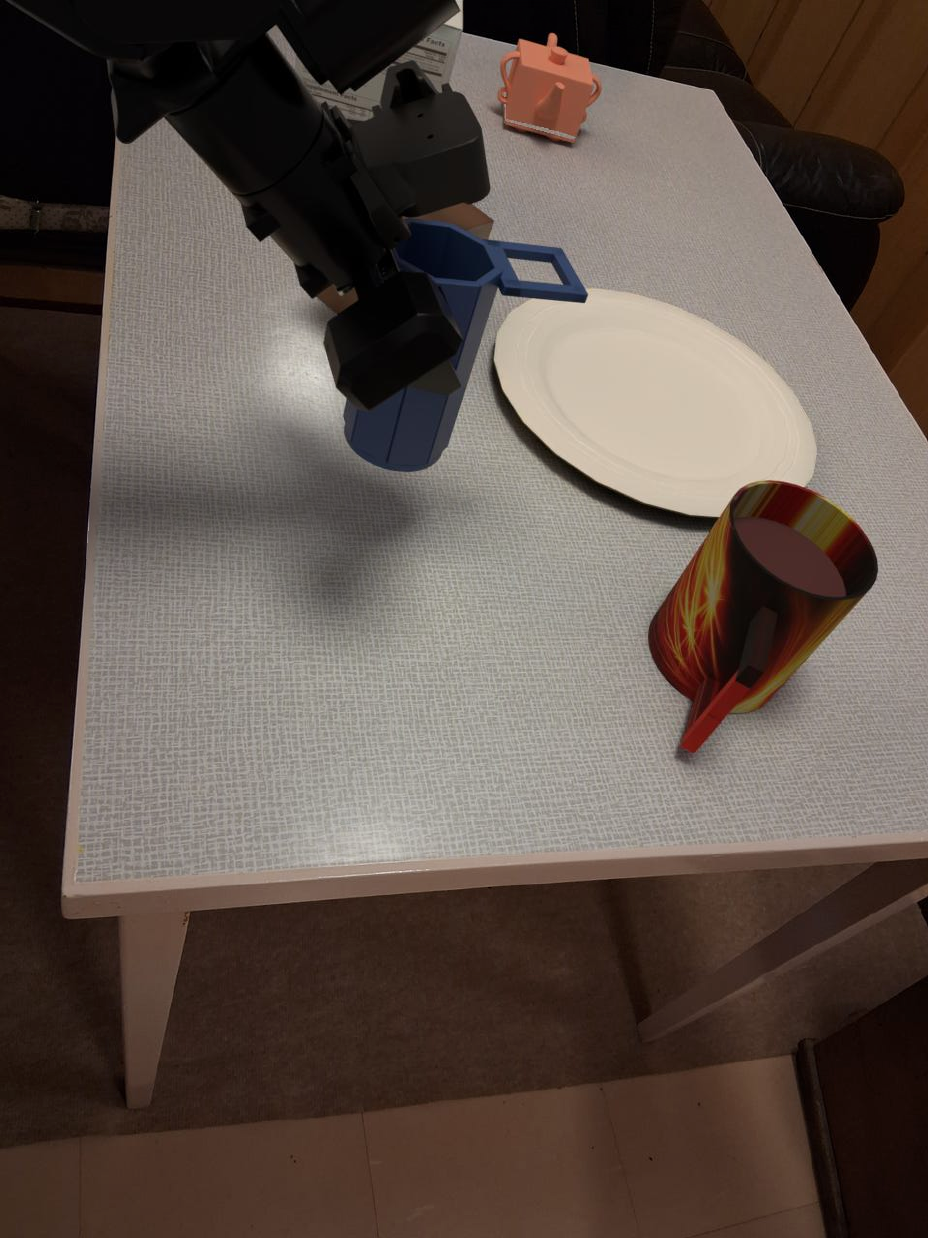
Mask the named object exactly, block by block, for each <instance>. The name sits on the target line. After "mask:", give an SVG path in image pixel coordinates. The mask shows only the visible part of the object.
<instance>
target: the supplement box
mask: <svg viewBox="0 0 928 1238" xmlns="http://www.w3.org/2000/svg"><path fill="white" fill-rule="evenodd" d="M456 2H457V4H458V6H459V8H460V12H459V13H457V14H456V15H455V16H454V17H452V18H451V19H450V20H448V21H447V22H446V23H444V24H443V25H442V26H440V27H439V28H438V29H437V30H435V31H434V32H433V33H431V34H430V35H429V36H427V37H426V38H425V39H423V40H422V41H421V42H420V43H418V44H417V45H416V46H414V47H413V48H412V49H410V50H409V51H408V52H406V53H405V54H404V55H403V56H401V57H400V58H399V59H397V60H396V61H395V62H393V63H392V64H391V65H389V66H388V67H387V68H386V69H384V70H383V71H382V72H380V73H379V74H378V75H376V76H375V77H374V78H372V79H371V80H370V81H369V82H367V83H366V84H365V85H363V86H362V87H361V88H359V89H358V90H357V91H355V92H354V91H353V90H352V89H351V88H349V89H348V90H347V91H345V92H344V93H343V94H341V95H340V94H339V93H338V92H337V90H336V89H335V88H334V87H333V85H332V84H331V83H330V82H329V80H328V81H327V82H326V83H324V84H323V85H320V84H318V83H317V82H316V81H315V79H314V78H313V77H312V76H311V75H310V73H309V72H308V71H307V69H306V68H305V67H304V65H303V64H302V62H301V61H300V60H299V58H298V57H297V55H296V54H295V61H294V62H295V63H294V70H295V71H296V72H297V74H298V75H299V76H300V78H301V79H302V81H303V82H304V83H305V85H306V86H307V87H308V89H309V90H310V92H311V93H312V94H313V96H314V97H315V98H316V100H317V101H318V103H319V104H320V105H321V104H322V103H323V102H325V101H326V102H327V103H328V105H329V106H330V108H332V107H334V106H335V105H336V106H337V107H338V108H339V109H340V111H341V112H342V114H343V115H344V117H345V118H346V119H352V120H360V121H365V120H368V119H371V118H373V112H372V106H376V105H379V106H380V99H381V94H382V90H383V85H384V81H385V77H386V72H387V69H388V68H389V67H391V66H395V65H398V64H401V63H404V62H407V61H410V60H414V61H415V62H416V63H417V64H418V66H419V67H420V68H421V69H422V71H423V72H424V73H425V74H426V76H427V77H428V78H429V79H430V81H431V82H432V83H433V85H434V87H435V89H436V90H437V91H438V92H439V93H442V88H441V85H442V84H446V83H449V84H450V81H451V78H452V73H453V69H454V65H455V61H456V57H457V53H458V49H459V45H460V42H461V38H462V33H463V30H464V10H463V9H464V0H456ZM380 108H381V107H380Z"/></svg>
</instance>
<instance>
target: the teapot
mask: <svg viewBox="0 0 928 1238" xmlns="http://www.w3.org/2000/svg"><path fill="white" fill-rule="evenodd" d="M557 45H558V36H557V34H556V33H554V32H550V33H549V34H548V37H547V42H546V45H543V44H539V43H537V42H533V41H530V40H525V39H523V38H519V39H518V42H517V45H516V48H515V50H514V51H509V52H508V53H506V54H505V55H504V56H503V57H502V58H501V61H500V63H499V71H500V72H499V73H500V76H501V79H502V82H503V87H502V86H501V87H500V88H499V89H498V91H497V96H496V97H497V99H498V101H499V102H500V103H502V106H503V107H502V108H503V118H504V119H503V121H504V125H506V126H509V127H513V128H514V129H516V131H518V132H521V133H528V132H532V133H534V134H535V133H536V134H539V135H543V136H546V137H547V138H548V139H549V140H552V141H553V142H558V141H559V142H560V140H561V141H565V142H569V143H573V144H575V142H576V139H575V140H573V139H569V138H565V137H562V136H558V135H555V134H551V133H547V132H544V131H540V130H536V129H533V128H529V127H525V126H522V125H518V124H515V123H511V122H507V121H505V107H504V104H506V119H509V120H514V121H517V122H521V123H527V124H531V125H535V126H539V127H544V128H548V129H549V130H554V131H559V132H562V133H565V134H568V135H571V136H574V137H576V138H578V137H577V136H578V133H579V131H580V128H581V125H582V124H583V123H585V121H587V116H588V113H587V112H586V111H587V109H588V108H589V107H590V106H591V105H593V103H595V102H596V101H597V100H598V99H599V97H600V96H601V93H602V82H601V80H600V78H599V77H598V75H597V74H596V73H593V72H592V70H591V65H590V61H589V60H590V59H589V58H587V57H583V56H580V55H577V54H573V53H570V52H569V51H568V50H566V49H565V48H563V47H561V46H557ZM511 60H512V63H511V65H510V69H509V73H507V63H508V62H509V61H511ZM594 84H595V85H594ZM595 86H596V87H595ZM594 87H595V90H594ZM593 90H594V92H593ZM504 92H506V97H504Z"/></svg>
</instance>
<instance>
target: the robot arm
mask: <svg viewBox="0 0 928 1238" xmlns="http://www.w3.org/2000/svg"><path fill="white" fill-rule="evenodd" d="M5 1H6V2H8V3H9V4H10V5H12V6H13V7H15V8H17V9H18V10H20V11H21V12H23V13H24V14H27V16H30V17H31V18H33V19H34V20H36V21H38V22H39V23H41V24H42V25H44V26H46V27H47V28H49V29H50V30H52V31H54V32H55V33H57V34H59V35H60V36H62V37H63V38H65V39H66V40H68V41H70V42H71V43H73V44H74V45H76V46H78V47H80V48H81V49H83V50H84V51H86V52H88V53H90V54H92V55H94V56H96V57H98V58H101V59H103V60H106V63H107V72H108V79H109V82H110V84H111V87H112V88H111V94H110V99H111V108H112V115H113V124H114V132H115V137H116V139H117V140H118V142H120V143H122V144H124V145H131V144H132V143H134V142H135V141H136V140H138V139H139V138H140V137H141V136H142V135H144V134H145V133H146V132H148V131H149V129H151V128H152V127H154V126H155V125H156V124H158V123H159V122H160V121H161V120H163V118H164V119H165V121H166V122H167V123H168V124H169V125H170V127H172V128H173V129H174V131H175V132H176V133H177V134H178V136H180V137H181V138H182V139H183V141H184V142H185V143H186V145H188V146H189V147H190V149H191V150H193V152H194V153H195V154H196V155H197V156H198V158H199V159H201V161H202V162H203V163H204V164H205V165H206V166H207V167H208V169H209V170H210V171H211V172H212V173H213V174H214V175H215V176H216V177H217V179H218V180H219V181H220V182H221V183H222V184H223V185H224V186H225V188H227V190H228V192H230V193H231V195H232V196H233V197H234V198H235V199H236V200H237V201H238V202H239V204H240V206H241V210H242V215H243V219H244V223H245V227H246V228H247V230H249V232H250V233H251V235H253V236H254V237H255V238H256V240H258V241H259V243H262V241H264V240H265V239H267V238H268V237H270V238H271V239H272V240H273V241H274V242H275V243H276V245H277V246H278V247H279V248H280V249H281V250H282V252H284V253H285V254H286V256H287V257H288V258H289V259H290V260H291V261H292V262H293V266H294V269H295V272H296V276H297V280H298V283H299V287H300V288H301V289H302V290H303V291H304V292H305V293H306V294H307V295H308V296H309V298H310V299H312V300H313V299H314V298H315V297H317V295H318V294H320V293H321V292H323V291H324V290H325V289H327V288H328V287H330V286H331V285H334V287H335V289H336V291H337V293H338V294H339V295H340V296H343V295H345V294H346V293H348V292H349V291H351V290H352V289H353V288H355V291H356V294H357V297H358V301H356V302H355V303H353V304H352V305H350V306H349V307H348V308H346V309H345V310H343V311H342V312H340V313H339V314H337V313H336V315H334V316H332V318H330V319H329V320H327V321H326V326H325V332H324V337H323V343H322V344H323V347H324V351H325V354H326V357H327V361H328V365H329V368H330V372H331V376H332V378H333V383H334V387H335V389H336V390H337V391H338V392H339V393H340V394H341V395H342V396H344V397H345V399H348V400H349V401H350V402H351V403H352V404H353V405H354V406H355V407H356V408H357V409H358V410H365V411H370V410H372V409H373V408H375V407H376V406H378V405H379V404H381V403H383V402H384V401H386V400H387V399H389V398H390V397H392V396H393V395H395V394H396V393H398V392H399V391H401V390H403V389H404V388H406V387H407V386H411V387H415V388H418V389H422V390H426V391H430V392H434V393H438V394H442V395H450V394H451V393H453V392H454V391H456V390H458V389H459V388H460V387H461V385H462V384H461V382H460V379H459V377H458V375H457V373H456V371H455V369H454V367H453V364H452V362H451V360H450V358H452V357H453V356H455V355H456V354H457V353H458V351H459V349H460V346H461V344H462V342H463V338H462V336H461V333H460V331H459V329H458V326H457V324H456V321H455V319H454V317H453V314H452V312H451V309H450V307H449V305H448V302H447V300H446V297H445V295H444V293H443V290H442V288H441V286H440V285H439V286H438V287H437V285H436V284H435V283H434V281H433V280H432V279H431V277H430V276H429V275H428V273H426V272H414V271H402V270H400V267H399V265H398V262H397V259H396V257H395V254H394V252H393V249H394V248H395V247H396V246H398V245H399V244H401V243H402V242H404V241H405V240H406V239H408V238H409V237H411V236H412V235H411V233H410V230H409V228H408V226H407V224H406V223H405V221H404V220H403V219H402V218H403V216H404V217H409V218H415V217H420V216H423V215H426V214H429V213H432V212H436V211H439V210H442V209H445V208H448V207H451V206H455V205H458V204H461V203H465V204H467V205H470V204H473V205H474V204H475V203H479V202H481V201H483V200H484V199H485V198H486V197H488V196H489V194H490V192H491V182H490V175H489V174H490V173H489V169H488V168H489V167H488V162H487V161H488V160H487V154H486V147H485V141H484V140H485V139H484V134H483V128H482V125H481V123H480V122H479V120H478V119H477V118H478V117H477V116H476V114H475V112H474V110H473V108H472V106H471V105H470V103H469V101H468V99H467V98H466V96H465V95H464V94H463V93H462V92H459V91H455V90H453V88H452V86H451V84H450V82H449V83H446V84H442V85H441V88H442V93H439V92H438V91H437V90H436V89H435V87H434V85H433V83H432V82H431V81H430V79H429V78H428V77H427V76H426V74H425V73H424V72H423V71H422V69H421V68H420V67H419V66H418V64H417V63H416V62H415V61H414V60H410V61H407V62H404V63H401V64H398V65H395V66H391V67H389V68H388V69H387V72H386V77H385V81H384V85H383V90H382V94H381V99H380V106H379V105H376V106H372V112H373V118H371V119H368V120H365V121H360V120H352V119H346V118H345V117H344V115H343V114H342V112H341V111H340V109H339V108H338V107H337V106H336V105H335V106H334V107H332V108H330V106H329V105H328V103H327V102H326V101H325V102H323V103H322V104H321V105H320V104H319V103H318V101H317V100H316V98H315V97H314V96H313V94H312V93H311V92H310V90H309V89H308V87H307V86H306V85H305V83H304V82H303V81H302V79H301V78H300V76H299V75H298V74H297V72H296V71H295V67H293V65H292V64H291V62H290V61H289V60H288V58H287V57H286V55H284V53H283V51H282V50H281V48H280V47H279V46H278V45H277V43H276V42H275V41H274V39H273V37H271V35H270V34H269V32H270V31H271V30H272V29H273V28H274V27H277V28H278V30H279V32H280V33H281V34H282V36H283V37H284V38H285V40H286V42H287V43H288V45H289V46H290V48H291V50H292V51H293V52H294V54H295V56H296V55H297V57H298V58H299V60H300V61H301V62H302V64H303V65H304V67H305V68H306V69H307V71H308V72H309V73H310V75H311V76H312V77H313V78H314V79H315V81H316V82H317V83H318V84H320V85H323V84H324V83H326V82H327V81H328V80H329V82H330V83H331V84H332V85H333V87H334V88H335V89H336V90H337V92H338V93H339V94H340V95H341V94H343V93H344V92H345V91H347V90H348V89H349V88H351V89H352V90H353V91H354V92H355V91H357V90H358V89H359V88H361V87H362V86H363V85H365V84H366V83H367V82H369V81H370V80H371V79H372V78H374V77H375V76H376V75H378V74H379V73H380V72H382V71H383V70H384V69H386V68H387V67H388V66H389V65H391V64H392V63H393V62H395V61H396V60H397V59H399V58H400V57H401V56H403V55H404V54H405V53H406V52H408V51H409V50H410V49H412V48H413V47H414V46H416V45H417V44H418V43H420V42H421V41H422V40H423V39H425V38H426V37H427V36H429V35H430V34H431V33H433V32H434V31H435V30H437V29H438V28H439V27H440V26H442V25H443V24H444V23H446V22H447V21H448V20H450V19H451V18H452V17H454V16H455V15H456V14H457V13H459V12H460V8H459V6H458V4H457V2H456V0H5ZM380 107H381V108H380ZM376 265H377V266H376ZM377 267H378V268H379V269H378V268H377ZM379 272H380V274H379ZM380 276H381V277H382V278H381V277H380ZM382 281H383V282H384V283H383V282H382Z"/></svg>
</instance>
